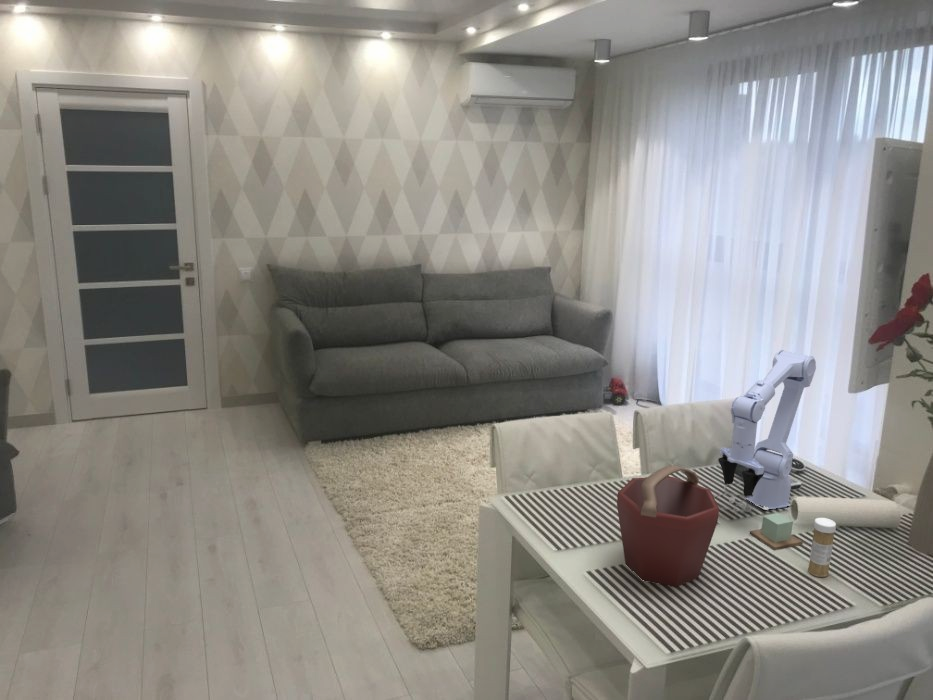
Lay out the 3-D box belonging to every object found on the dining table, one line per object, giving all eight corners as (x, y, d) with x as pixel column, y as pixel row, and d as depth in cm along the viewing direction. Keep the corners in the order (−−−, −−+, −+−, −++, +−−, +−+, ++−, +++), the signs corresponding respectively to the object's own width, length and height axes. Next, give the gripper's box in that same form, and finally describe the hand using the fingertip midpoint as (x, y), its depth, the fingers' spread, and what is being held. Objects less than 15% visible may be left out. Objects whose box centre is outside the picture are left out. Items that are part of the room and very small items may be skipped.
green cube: (776, 530, 195) (778, 512, 194) (790, 539, 190) (792, 521, 189) (761, 533, 193) (763, 515, 192) (775, 542, 189) (777, 524, 187)
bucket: (657, 604, 163) (666, 499, 157) (589, 559, 181) (595, 463, 175) (731, 573, 175) (742, 475, 169) (661, 534, 193) (669, 444, 187)
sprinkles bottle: (816, 566, 179) (823, 515, 176) (832, 575, 175) (840, 523, 172) (803, 570, 177) (810, 519, 174) (819, 580, 173) (827, 527, 170)
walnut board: (776, 528, 198) (777, 525, 197) (802, 544, 189) (802, 541, 189) (749, 533, 194) (749, 531, 194) (774, 550, 186) (774, 547, 186)
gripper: (713, 434, 201) (708, 480, 204) (750, 453, 188) (744, 502, 191) (734, 431, 203) (729, 477, 206) (772, 450, 190) (766, 498, 193)
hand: (738, 489), depth 199 cm, fingers open, 7 cm apart
